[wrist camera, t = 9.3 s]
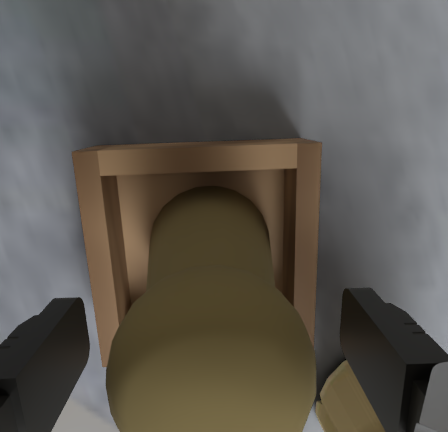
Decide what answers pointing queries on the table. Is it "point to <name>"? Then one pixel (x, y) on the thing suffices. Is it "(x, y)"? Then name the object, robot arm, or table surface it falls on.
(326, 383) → the scroll
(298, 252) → the wooden tray
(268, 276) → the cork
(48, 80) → the table surface
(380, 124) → the table surface
